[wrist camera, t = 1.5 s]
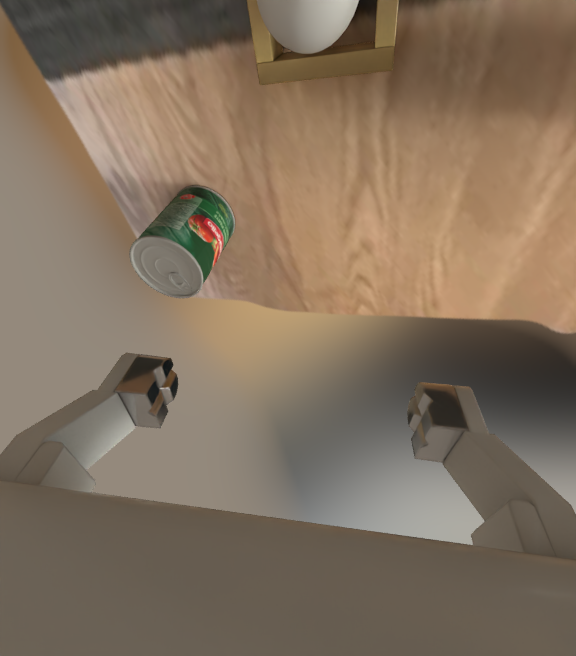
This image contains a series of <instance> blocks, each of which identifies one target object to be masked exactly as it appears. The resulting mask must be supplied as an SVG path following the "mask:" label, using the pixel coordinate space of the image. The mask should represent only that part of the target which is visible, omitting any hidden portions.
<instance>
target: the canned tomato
mask: <svg viewBox="0 0 576 656" xmlns="http://www.w3.org/2000/svg"><path fill="white" fill-rule="evenodd" d="M234 228H235V218H234V215H233V212H232V210H231V208H230V206H229V205H228V203H227V202H226V201H225V200H224V198H223V197H222V196H220V195H219V194H218V193H217V192H215V191H213V190H211V189H209V188H207V187H204V186H198V185H195V186H188V187H186V188H184V189H182V190H181V191H180V192H179V193H178V194H177V196H176V197H175V198H174V199H173V200H172V201H171V202H170V203H169V205H168V206H167V207H166V208H165V209H164V210H163V211H162V212H161V213H160V214H159V216H158V217H157V218H156V219H155V220H154V221H153V222H152V223H151V224H150V225H149V227H148V228H147V229H146V230H145V231H144V232H143V233H142V234H141V236H140V237H139V238H138V239H137V240H135V242H134V243H133V244H132V246H131V248H130V253H129V255H130V261H131V263H132V266H133V268H134V270H135V272H136V273H137V274H138V276H139V277H140V278H141V279H142V280H143V281H144V282H145V283H146V284H147V285H149V286H150V287H151V288H153V289H154V290H156V291H158V292H160V293H162V294H164V295H167V296H170V297H175V298H189V297H192V296H194V295H196V294H197V293H198V292H199V291H200V290H201V288H202V285H203V283H204V282H205V280H206V279H207V276H208V275H209V273H210V271H211V270H212V268H213V266H214V265H215V263H216V261H217V259H218V258H219V256H220V254H221V253H222V251H223V249H224V247H225V246H226V244H227V242H228V240H229V238H230V237H231V236H232V234H233V232H234Z"/></svg>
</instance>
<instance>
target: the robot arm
mask: <svg viewBox="0 0 576 656" xmlns="http://www.w3.org/2000/svg"><path fill="white" fill-rule="evenodd" d="M172 367H173V362H172V360H171V358H165V357H158V356H150V355H142V354H133V353H125V354H124V355H122V356H121V357H120V359H119V360H118V362H117V363H116V364H115V366H114V367H113V369H112V370H111V372H110V373H109V374H108V376H107V377H106V379H105V380H104V381H103V383H102V384H101V386H100V387H99V389H98V390H92V391H90V392H89V393H87V394H85V395H84V396H82V397H80V398H79V399H77V400H75V401H73V402H72V403H70V404H69V405H67V406H65V407H63V408H62V409H60V410H58V411H57V412H55V413H53V414H52V415H50V416H48V417H46V418H45V419H43V420H41V421H40V422H38V423H36V424H35V425H33V426H31V427H30V428H28V429H26V430H24V431H23V432H21V433H20V434H18V435H16V437H15V438H14V439H13V440H12V441H11V443H10V444H9V445H8V446H7V447H6V449H5V450H4V451H3V452H2V453H1V454H0V656H576V514H575V512H574V510H573V508H572V506H571V505H570V504H569V503H568V502H567V501H566V500H565V499H564V498H562V496H561V495H559V494H558V493H557V492H556V491H555V490H554V489H553V488H552V487H551V486H550V485H549V484H547V483H546V482H545V481H544V480H543V479H542V478H541V477H540V476H539V475H538V474H537V473H536V472H535V471H534V470H532V469H531V468H530V467H529V466H528V465H527V464H526V463H525V462H524V461H523V460H521V459H520V458H519V457H518V456H517V455H516V454H515V453H514V452H513V451H512V450H511V449H509V447H508V446H506V445H505V444H504V443H503V442H502V441H501V440H500V439H499V438H498V437H497V436H496V435H495V434H489V432H488V429H487V427H486V424H485V422H484V419H483V416H482V414H481V411H480V409H479V407H478V404H477V401H476V399H475V396H474V393H473V391H472V389H471V388H470V387H464V386H451V385H444V384H433V383H422V382H419V383H418V384H417V385H416V387H415V394H416V396H414V397H412V398H411V399H410V402H409V405H408V424H409V427H410V428H411V429H412V430H413V432H414V434H413V436H412V438H411V441H412V446H413V452H414V456H415V459H421V460H428V461H436V462H442V463H443V465H444V467H445V468H446V469H447V471H448V472H449V473H450V475H451V476H452V478H453V479H454V480H455V482H456V483H457V484H458V485H459V487H460V488H461V490H462V491H463V492H464V494H465V495H466V496H467V498H468V499H469V500H470V502H471V503H472V504H473V506H474V507H475V508H476V510H477V511H478V512H479V514H480V515H481V516H482V518H483V519H484V521H485V522H484V523H483V524H482V525H481V526H479V527H478V528H477V529H476V530H475V531H474V532H473V533H472V534H471V537H472V541H473V545H467V544H460V543H453V542H445V541H439V540H431V539H424V538H417V537H409V536H402V535H395V534H388V533H381V532H374V531H366V530H359V529H352V528H345V527H338V526H330V525H323V524H316V523H309V522H302V521H294V520H287V519H280V518H273V517H266V516H257V515H251V514H244V513H237V512H230V511H222V510H215V509H208V508H201V507H193V506H186V505H179V504H172V503H164V502H157V501H149V500H143V499H136V498H128V497H121V496H114V495H106V494H99V493H92V490H93V488H94V486H95V485H96V483H95V480H94V479H93V477H92V476H91V475H90V474H89V473H88V472H87V471H86V470H87V469H88V468H89V467H91V466H92V465H93V464H94V463H95V462H96V461H98V460H99V459H100V458H101V457H102V456H103V455H105V454H106V452H108V451H109V450H110V449H112V448H113V447H114V446H115V445H116V444H117V443H118V442H120V441H121V440H122V439H123V438H124V437H125V436H127V435H128V434H129V433H130V432H131V431H132V430H134V429H135V428H136V427H135V426H140V427H151V428H161V425H162V423H163V421H164V419H165V417H166V415H167V413H168V409H167V406H166V405H167V404H169V403H170V402H172V401H173V400H174V398H175V395H176V393H177V389H178V377H177V374H176V373H175V372H174V371H172V370H171V369H172Z"/></svg>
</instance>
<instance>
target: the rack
mask: <svg viewBox="0 0 576 656" xmlns="http://www.w3.org/2000/svg"><path fill="white" fill-rule="evenodd" d="M398 3H399V0H377V11H376V30H375V41H373V42H366V43H358V44H351V45H343V46H335V47H328V48H326V49H324V50H322V51H319V52H316V53H312V54H302V53H297V52H290V53H283V50H282V45H281V44H280V43H279V42H278V41H276V39H275V38H274V37H273V36H272V35H271V33H270V32H269V31H268V29H267V27H266V25H265V24H264V22H263V19H262V17H261V14H260V11H259V8H258V4H257V0H247V5H248V12H249V18H250V25H251V31H252V37H253V44H254V50H255V57H256V62H257V71H258V77H259V83H260V85H266V84H275V83H284V82H293V81H302V80H311V79H320V78H329V77H338V76H347V75H356V74H365V73H374V72H383V71H392V70H393V62H394V50H395V38H396V27H397V15H398ZM282 53H283V54H282Z"/></svg>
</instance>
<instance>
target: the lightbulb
mask: <svg viewBox="0 0 576 656" xmlns="http://www.w3.org/2000/svg"><path fill="white" fill-rule="evenodd" d="M358 2H359V0H257V4H258V8H259V11H260V14H261V17H262V19H263V22H264V24H265V25H266V27H267V29H268V31H269V32H270V33H271V35H272V36H273V37H274V38H275V39H276V41H278V42H279V43H280V44H281V45H282V46H284V47H285V48H287V49H289V50H291V51H293V52H297V53H302V54H312V53H316V52H319V51H322V50H324V49H326V48H327V47H329V46H331V45H332V44H333V43H334V42H335V41H336V40H337V39H339V37H340V36H341V35H342V34H343V32H344V31H345V30H346V28H347V27H348V25H349V23H350V21H351V19H352V18H353V16H354V13H355V10H356V7H357V5H358Z"/></svg>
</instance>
